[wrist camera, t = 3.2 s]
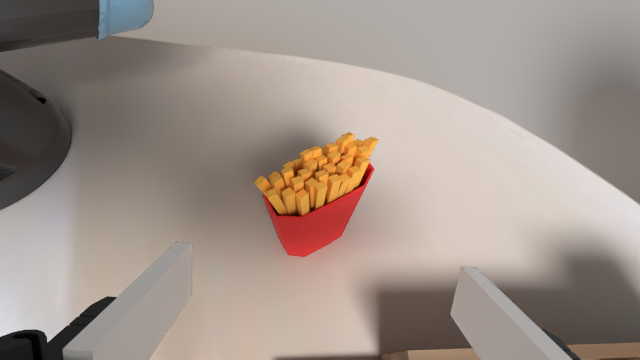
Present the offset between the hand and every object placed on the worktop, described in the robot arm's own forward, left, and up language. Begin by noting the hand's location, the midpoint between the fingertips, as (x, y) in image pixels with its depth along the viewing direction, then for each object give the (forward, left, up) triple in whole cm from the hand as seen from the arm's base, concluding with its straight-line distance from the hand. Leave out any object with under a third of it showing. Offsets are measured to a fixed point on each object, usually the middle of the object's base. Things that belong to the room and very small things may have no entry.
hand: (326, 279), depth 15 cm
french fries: (-7, 0, -12) cm, 14 cm away
